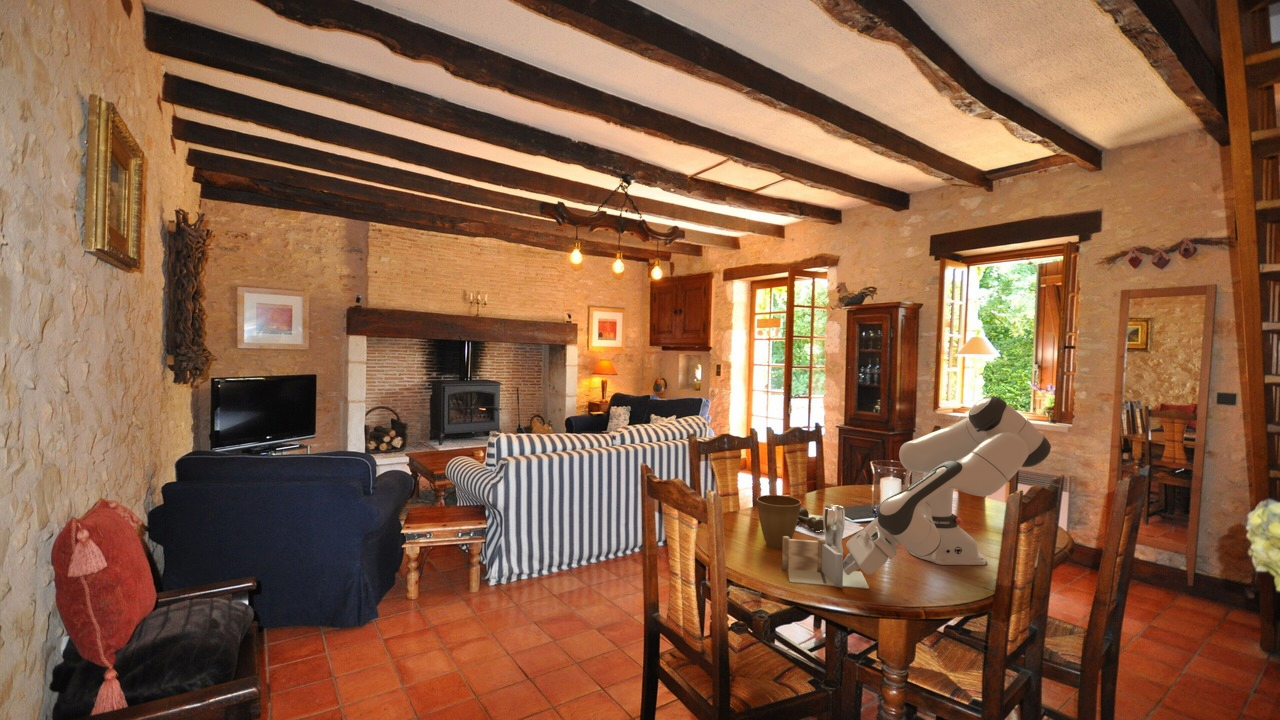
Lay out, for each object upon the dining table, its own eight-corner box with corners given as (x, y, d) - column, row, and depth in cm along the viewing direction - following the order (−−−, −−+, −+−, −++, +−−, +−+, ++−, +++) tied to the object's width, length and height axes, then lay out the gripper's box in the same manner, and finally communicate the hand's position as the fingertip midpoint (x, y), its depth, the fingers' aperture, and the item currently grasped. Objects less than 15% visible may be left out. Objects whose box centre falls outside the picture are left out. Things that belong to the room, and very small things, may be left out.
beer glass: (824, 546, 201) (824, 503, 201) (845, 550, 198) (846, 506, 198) (820, 553, 195) (821, 508, 194) (842, 556, 192) (843, 511, 191)
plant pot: (797, 556, 192) (797, 507, 192) (752, 549, 198) (752, 502, 197) (803, 542, 206) (803, 497, 205) (760, 536, 212) (761, 492, 211)
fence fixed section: (824, 570, 180) (825, 538, 180) (825, 573, 177) (826, 541, 177) (782, 567, 182) (782, 535, 182) (782, 570, 180) (782, 538, 180)
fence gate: (820, 572, 177) (821, 542, 177) (826, 572, 177) (827, 542, 177) (837, 587, 166) (837, 555, 166) (843, 587, 167) (844, 555, 166)
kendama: (810, 536, 214) (774, 519, 232) (830, 533, 219) (793, 517, 236) (811, 520, 214) (775, 504, 232) (831, 517, 218) (794, 502, 236)
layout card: (861, 572, 179) (861, 571, 179) (869, 588, 167) (869, 587, 167) (787, 566, 183) (787, 565, 183) (789, 582, 171) (789, 581, 171)
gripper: (863, 519, 178) (829, 550, 179) (880, 540, 158) (842, 574, 159) (878, 534, 177) (844, 565, 179) (897, 557, 157) (859, 591, 158)
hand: (843, 569), depth 169 cm, fingers open, 3 cm apart
